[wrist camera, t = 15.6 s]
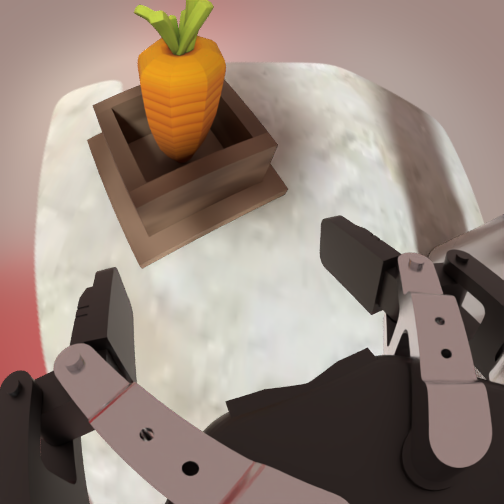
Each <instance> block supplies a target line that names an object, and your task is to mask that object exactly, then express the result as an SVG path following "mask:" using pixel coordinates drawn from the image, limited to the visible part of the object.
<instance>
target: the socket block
mask: <svg viewBox="0 0 504 504" xmlns="http://www.w3.org/2000/svg"><path fill="white" fill-rule="evenodd" d="M93 108H94V111H95V113H96V116H97V119H98V122H99V125H100V127H101V130H102V133H100V134H98V135H96V136H94V137H92V138H90V139H88V140H87V141H88V144H89V147H90V150H91V153H92V155H93V158H94V161H95V164H96V166H97V169H98V172H99V174H100V177H101V179H102V182H103V185H104V187H105V190H106V192H107V195H108V197H109V199H110V202H111V204H112V207H113V209H114V211H115V214H116V216H117V218H118V220H119V223H120V225H121V227H122V229H123V232H124V234H125V236H126V238H127V240H128V243H129V245H130V247H131V249H132V251H133V253H134V255H135V257H136V259H137V261H138V263H139V265H140V267H141V268H144V267H146V266H148V265H150V264H151V263H153V262H155V261H157V260H159V259H161V258H162V257H164V256H166V255H168V254H170V253H172V252H174V251H175V250H177V249H179V248H181V247H183V246H185V245H187V244H189V243H190V242H192V241H194V240H196V239H198V238H200V237H202V236H204V235H206V234H207V233H209V232H211V231H213V230H215V229H217V228H219V227H221V226H223V225H225V224H227V223H229V222H231V221H233V220H235V219H237V218H239V217H241V216H242V215H244V214H246V213H248V212H250V211H252V210H254V209H256V208H258V207H260V206H262V205H264V204H266V203H268V202H270V201H273V200H275V199H277V198H279V197H281V196H283V195H285V193H286V192H287V190H288V188H287V187H286V185H285V184H284V182H283V181H282V180H281V178H280V177H279V175H278V174H277V172H276V171H275V170H274V168H273V167H272V165H271V164H270V162H271V160H272V158H273V155H274V153H275V151H276V148H277V146H278V144H277V143H276V142H275V140H274V139H273V138H272V137H271V135H270V134H269V133H268V131H267V130H266V129H265V128H264V126H263V125H262V124H261V123H260V121H259V120H258V119H257V118H256V116H255V115H254V114H253V113H252V111H251V110H250V109H249V108H248V107H247V105H246V104H245V103H244V102H243V101H242V99H241V98H240V97H239V96H238V95H237V93H236V92H235V91H234V90H233V89H232V88H231V86H230V85H229V84H228V83H227V82H226V81H225V80H224V81H223V86H222V91H221V96H220V100H219V104H218V108H217V113H216V116H215V118H214V120H213V123H212V125H211V128H210V130H209V132H208V134H207V136H206V139H205V140H204V142H203V143H202V144H201V146H200V147H199V148H198V150H197V151H196V152H195V154H194V155H193V156H192V158H191V159H190V160H188V161H187V162H184V163H178V162H176V161H174V160H173V159H171V158H169V157H168V156H167V155H166V154H165V153H164V152H163V151H162V150H160V148H159V146H158V144H157V142H156V140H155V139H154V136H153V134H152V132H151V130H150V127H149V124H148V120H147V116H146V111H145V107H144V102H143V96H142V91H141V85H139V86H136V87H134V88H131V89H129V90H127V91H124V92H122V93H119V94H117V95H115V96H112V97H110V98H108V99H106V100H103V101H101V102H99V103H97V104H95V105H93Z"/></svg>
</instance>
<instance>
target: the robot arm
mask: <svg viewBox="0 0 504 504" xmlns="http://www.w3.org/2000/svg"><path fill="white" fill-rule="evenodd" d="M320 258H321V262H322V264H323V266H324V267H325V268H326V269H327V270H328V271H329V272H330V273H331V274H332V275H333V276H334V277H335V278H336V279H337V280H338V281H339V282H340V283H341V284H342V285H343V286H344V287H345V288H346V289H347V290H348V291H349V292H350V293H351V294H352V295H353V296H354V297H355V299H356V300H357V301H358V302H359V303H360V304H361V305H362V306H363V307H364V308H365V309H366V310H367V311H368V312H369V313H370V314H371V315H373V314H375V313H377V312H379V311H382V310H384V311H385V313H384V317H383V355H380V356H374V355H373V354H372V352H371V351H370V350H369V349H368V348H366V349H364V350H362V351H359V352H357V353H355V354H353V355H351V356H349V357H346V358H344V359H342V360H340V361H337V362H336V363H335V364H334V365H332V366H331V367H330V368H328V369H327V370H326V371H324V372H323V373H322V374H320V375H319V376H317V377H316V378H315V379H313V380H312V381H310V382H309V383H306V384H301V385H295V386H288V387H280V388H272V389H264V390H261V391H258V392H255V393H252V394H249V395H245V396H242V397H239V398H235V399H232V400H229V401H225V402H226V405H227V408H228V411H229V412H228V413H226V414H224V415H222V416H221V417H219V418H218V419H216V420H215V421H214V422H212V423H211V424H210V425H209V426H208V427H207V428H206V429H205V430H204V431H203V432H202V431H201V430H199V429H198V428H196V427H195V426H193V425H192V424H190V423H189V422H187V421H186V420H185V419H183V418H182V417H180V416H179V415H178V414H176V413H175V412H173V411H172V410H171V409H169V408H168V407H167V406H165V405H164V404H163V403H161V402H160V401H159V400H157V399H156V398H155V397H154V396H152V395H151V394H150V393H149V392H147V391H146V390H145V389H144V388H142V387H141V386H140V385H139V384H137V379H136V366H135V350H134V325H133V311H132V307H131V304H130V301H129V298H128V296H127V293H126V291H125V288H124V285H123V283H122V280H121V277H120V275H119V272H118V270H117V268H116V267H113V268H109V269H105V270H101V271H97V272H96V274H95V279H94V284H93V287H89V288H86V290H85V291H84V293H83V294H82V295H81V297H80V299H79V303H78V307H77V308H78V310H77V312H76V318H75V321H74V326H73V331H72V337H71V342H70V346H69V347H67V348H66V349H64V350H63V351H62V352H61V353H60V354H59V355H58V357H57V358H56V360H55V363H54V371H52V372H50V373H48V374H46V375H44V376H42V377H39V378H37V379H35V380H34V379H33V378H32V377H31V376H30V375H29V374H28V373H27V372H26V371H16V372H13V373H11V374H10V375H9V376H8V377H7V378H6V379H5V380H4V381H3V383H2V385H1V387H0V504H90V503H89V497H88V492H87V486H86V480H85V473H84V465H83V457H82V447H81V436H82V435H85V434H87V433H89V432H91V431H93V430H96V431H97V432H98V433H99V435H100V436H101V437H102V438H103V439H104V440H105V441H106V442H107V443H108V444H109V445H110V446H111V448H112V449H113V450H114V451H115V452H116V453H117V454H118V455H119V456H120V457H121V458H122V459H123V460H124V461H125V462H126V463H127V464H128V465H129V466H131V467H132V468H133V469H134V470H135V471H136V472H137V473H138V474H139V475H140V476H141V477H142V478H144V479H145V480H146V481H147V482H148V483H149V484H150V485H152V486H153V487H154V488H155V489H156V490H158V491H159V492H160V493H161V494H163V495H164V496H165V497H166V498H168V499H167V501H166V503H165V504H504V214H503V215H501V216H499V217H497V218H495V219H493V220H491V221H489V222H487V223H485V224H483V225H481V226H479V227H477V228H475V229H473V230H471V231H469V232H467V233H465V234H462V235H460V236H458V237H456V238H454V239H452V240H450V241H448V242H446V243H444V244H441V245H439V246H437V247H435V248H434V249H433V250H432V251H431V253H430V255H429V256H428V258H427V257H425V256H423V255H421V254H417V253H404V254H400V253H399V252H398V251H396V250H395V249H393V248H392V247H391V246H389V245H388V244H386V243H385V242H384V241H382V240H380V239H379V238H378V237H377V236H375V235H374V236H373V234H372V233H371V232H369V231H368V230H366V229H365V228H362V227H360V226H357V225H355V224H353V223H352V222H350V221H349V220H347V219H346V218H344V217H343V216H341V215H339V216H334V217H330V218H325V219H323V220H322V223H321V238H320ZM474 366H475V367H476V368H477V369H478V370H479V371H480V373H481V374H482V375H483V376H484V377H485V378H486V380H485V379H481V378H477V377H476V374H475V369H474ZM40 438H41V449H40Z"/></svg>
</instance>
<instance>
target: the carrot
mask: <svg viewBox="0 0 504 504" xmlns="http://www.w3.org/2000/svg"><path fill="white" fill-rule="evenodd" d="M213 7H214V6H213V5H212V3H211V2H209V1H208V0H186V9H185V10H183V11H182V12H181V17H180V24H179V28H178V24H177V19H176V17H175V16H172V15H170V16H169V17H168V16H167V14H166V13H165V12H163V11H156V12H155V11H153V10H151V9H150V8H148V7H145V6H142V5H138V6H137V7H136V8H135V11H134V13H135V14H137V15H138V16H140V17H142V18H144V19H146V20H147V21H148V22H149V23H150V24H151V25H152V26H153V27H154V28H155V29H156V30H157V31H158V33H159V34H160V35H161V37H162V38H161V39H159V40H158V41H156V42H155V43H154V44H153V45H151V46H150V47H148V48H147V49H146V50H144V51H143V52H142V53H141V54H140V55H139V57H138V71H139V78H140V85H141V91H142V96H143V102H144V107H145V111H146V116H147V120H148V124H149V127H150V130H151V132H152V134H153V136H154V139H155V140H156V142H157V144H158V146H159V148H160V150H162V151H163V152H164V153H165V154H166V155H167V156H168V157H169V158H171V159H173V160H174V161H176V162H178V163H184V162H187V161H188V160H190V159H191V158H192V156H193V155H194V154H195V152H196V151H197V150H198V148H199V147H200V146H201V144H202V143H203V142H204V140H205V139H206V136H207V134H208V132H209V130H210V128H211V125H212V123H213V120H214V118H215V116H216V113H217V108H218V104H219V100H220V96H221V91H222V86H223V81H224V76H225V72H226V64H225V60H224V58H223V56H222V54H221V52H220V50H219V48H218V46H217V44H216V43H215V42H214V41H212V40H210V39H206V38H203V37H200V36H197V34H198V31H199V29H200V28H201V26H202V25H203V23H204V21H205V20H206V19H207V17H208V16H209V14H210V13H211V11H212V9H213Z"/></svg>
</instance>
